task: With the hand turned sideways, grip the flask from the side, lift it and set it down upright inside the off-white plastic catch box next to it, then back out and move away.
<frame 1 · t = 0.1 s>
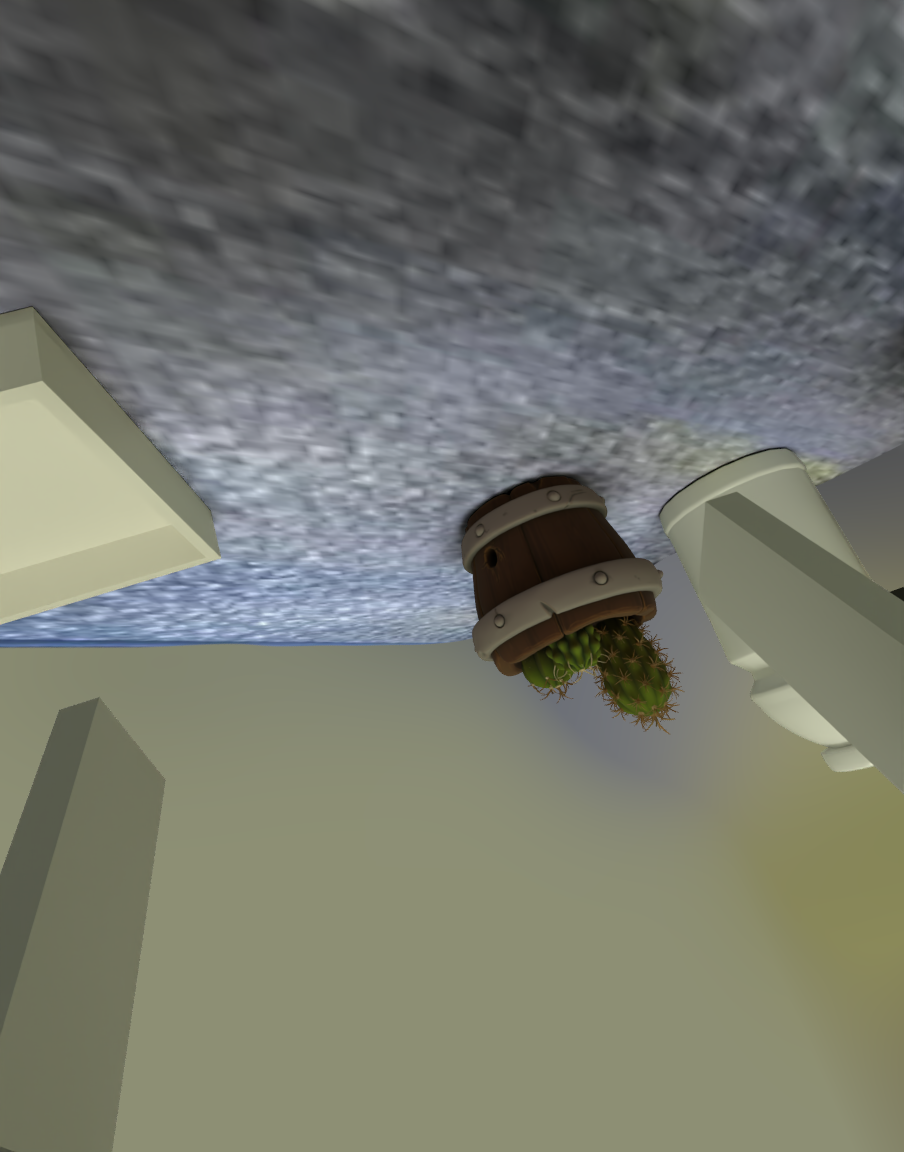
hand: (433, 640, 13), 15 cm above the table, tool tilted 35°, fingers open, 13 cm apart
flowerpot: (521, 506, 49), on the table
bottle: (722, 484, 60), on the table
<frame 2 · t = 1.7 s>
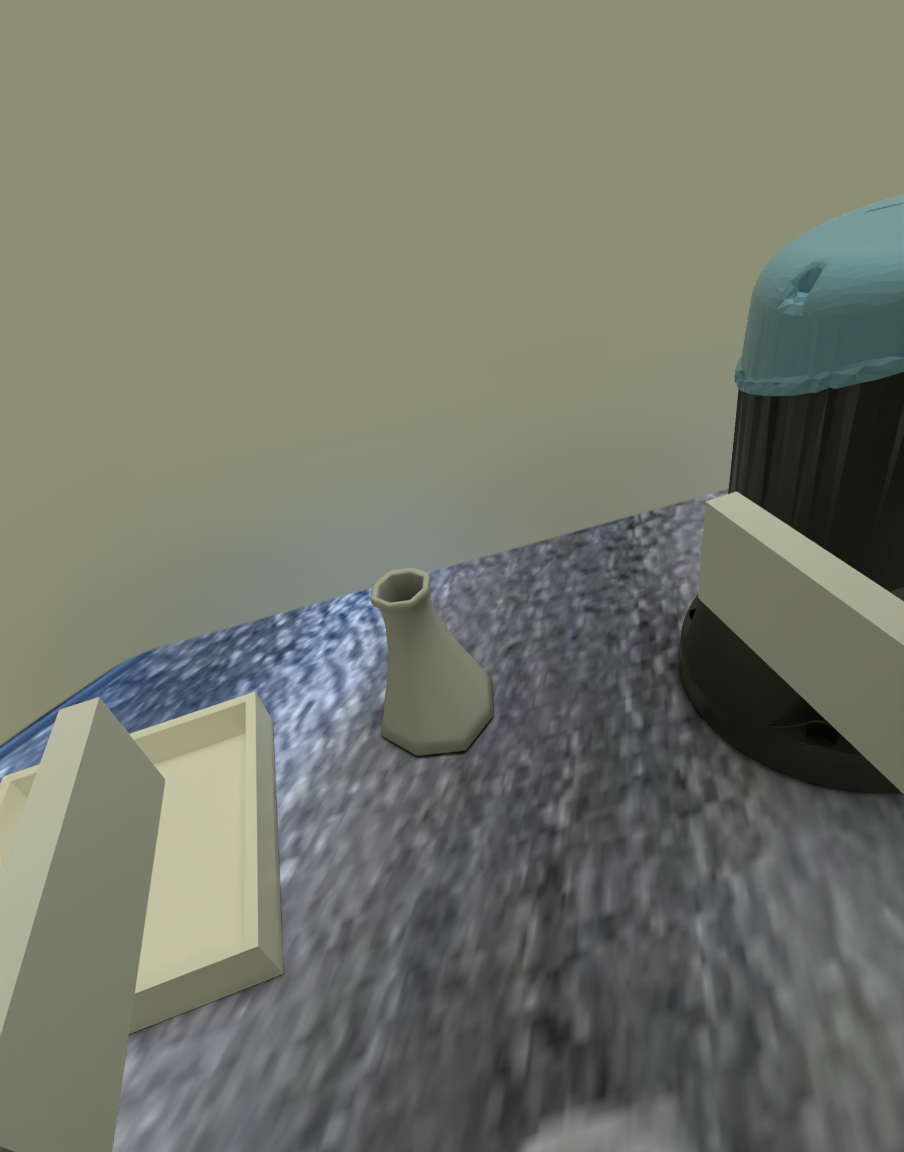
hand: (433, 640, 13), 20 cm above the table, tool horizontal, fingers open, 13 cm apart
flask: (439, 711, 37), on the table
catch box: (138, 875, 32), on the table
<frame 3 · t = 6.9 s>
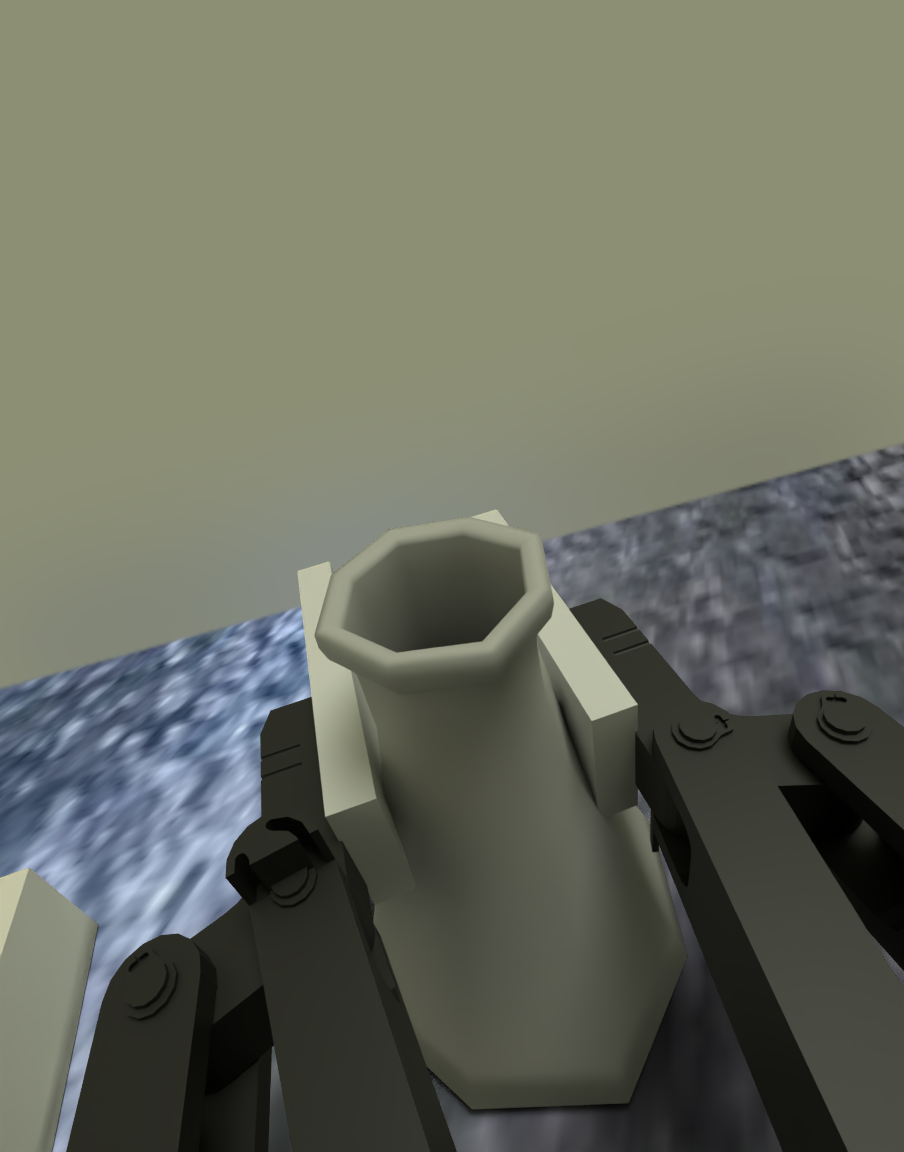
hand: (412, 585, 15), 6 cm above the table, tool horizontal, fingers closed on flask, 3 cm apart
flask: (520, 919, 14), on the table, touching gripper
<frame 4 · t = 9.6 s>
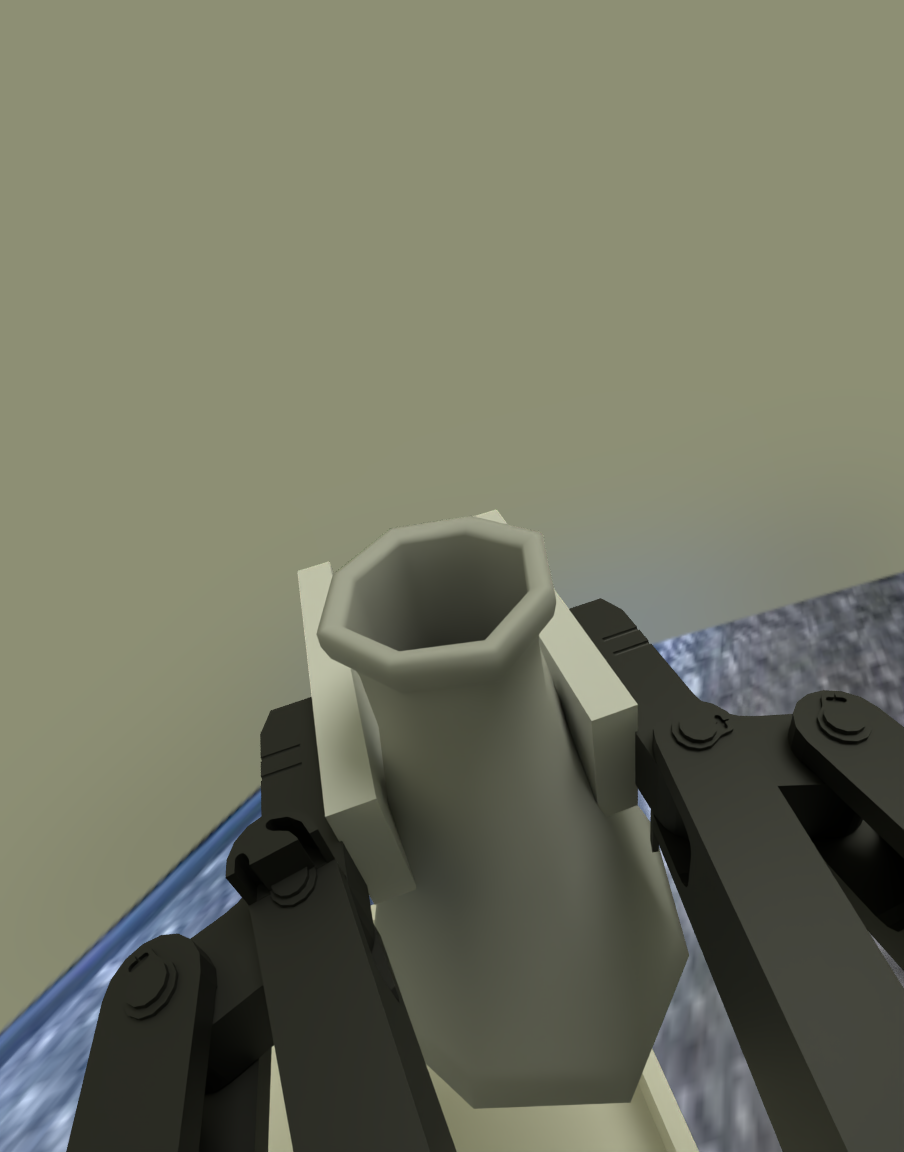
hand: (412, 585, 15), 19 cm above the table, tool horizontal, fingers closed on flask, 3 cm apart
flask: (522, 919, 14), point 13 cm above the table, touching gripper
when the fingers open (8 cm above the table, at t = 12.6 s): flask drops 1 cm, resting on catch box.
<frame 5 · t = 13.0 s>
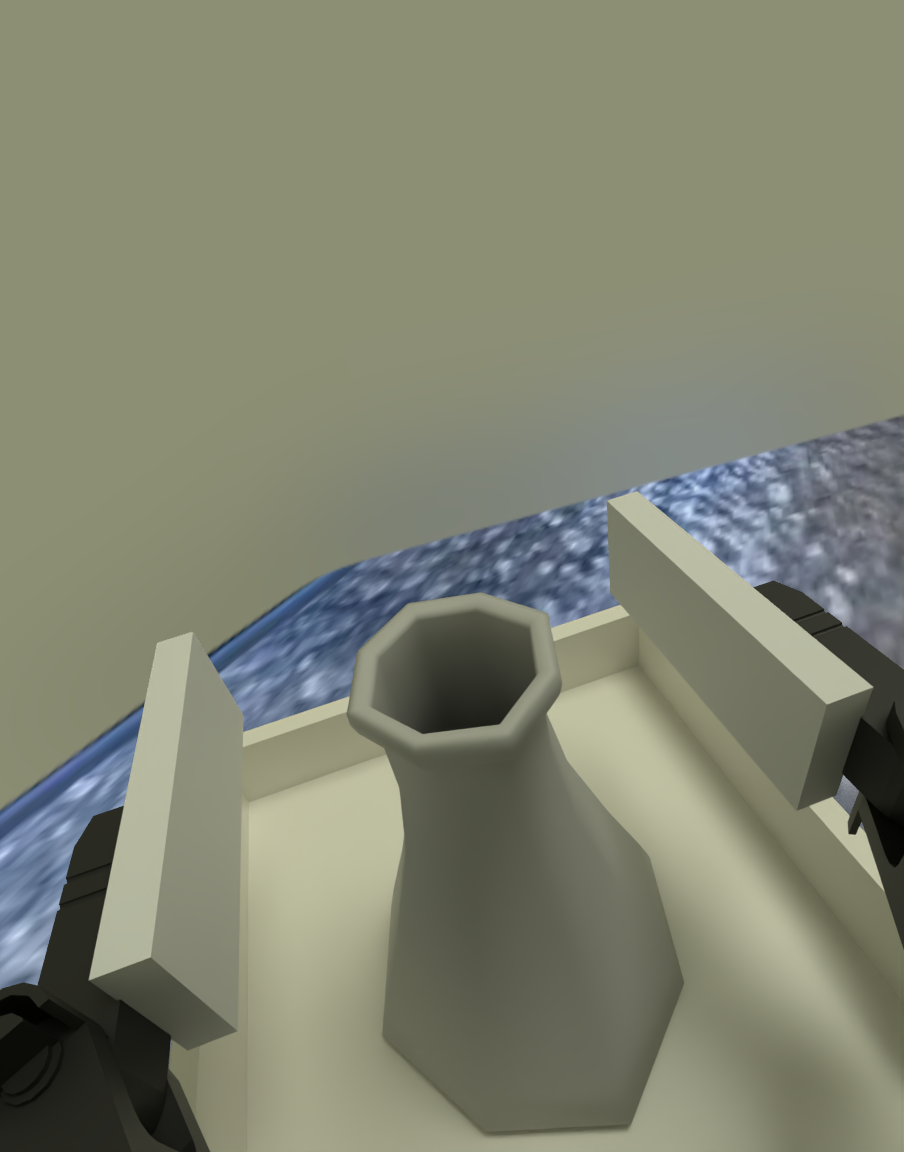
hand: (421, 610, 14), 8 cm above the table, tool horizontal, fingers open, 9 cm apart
flask: (527, 948, 15), resting on catch box
catch box: (528, 951, 15), on the table
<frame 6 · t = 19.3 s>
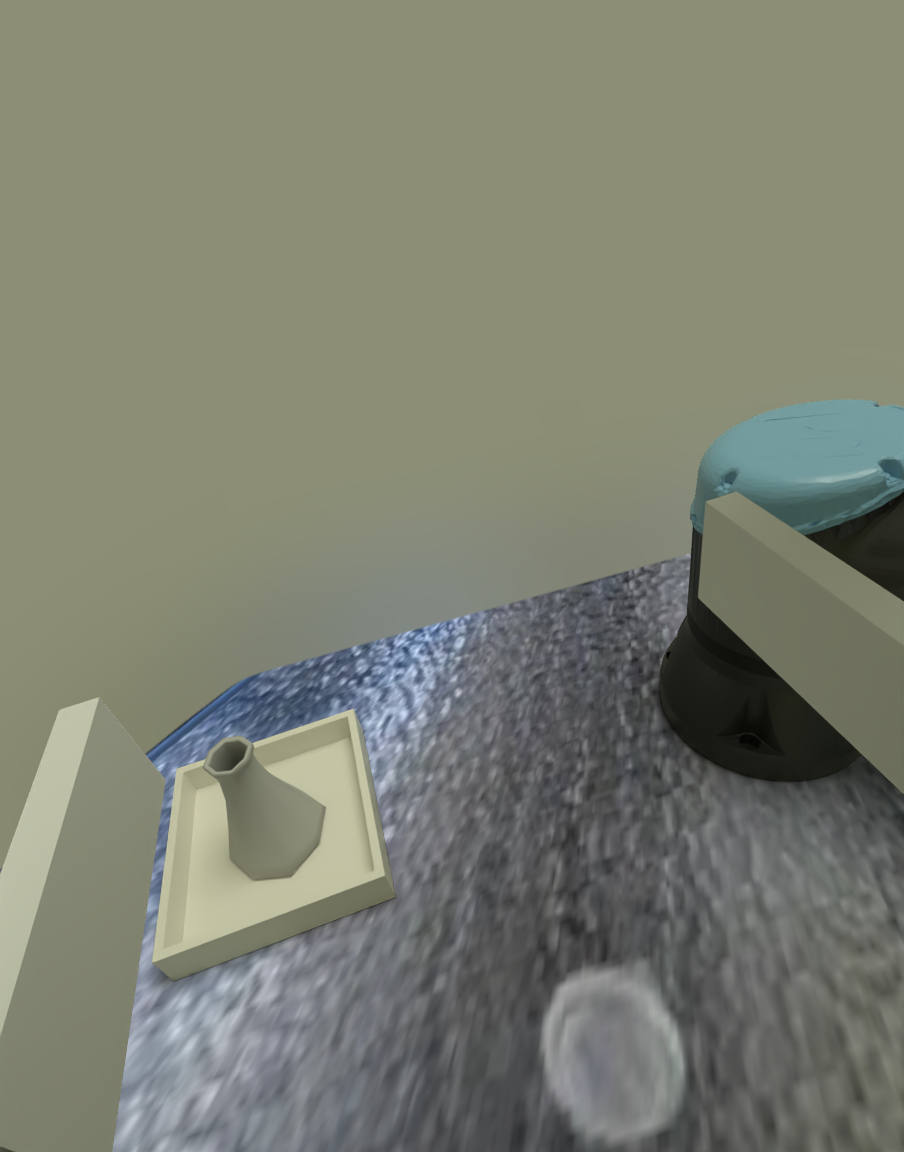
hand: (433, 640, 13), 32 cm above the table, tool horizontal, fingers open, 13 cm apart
flask: (281, 835, 46), resting on catch box
catch box: (282, 837, 46), on the table
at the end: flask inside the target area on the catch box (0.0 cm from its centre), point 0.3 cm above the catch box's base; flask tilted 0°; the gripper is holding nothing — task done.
